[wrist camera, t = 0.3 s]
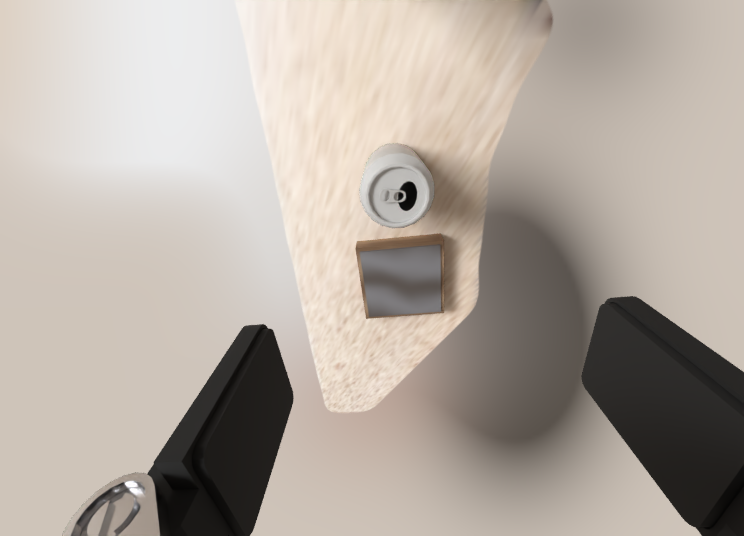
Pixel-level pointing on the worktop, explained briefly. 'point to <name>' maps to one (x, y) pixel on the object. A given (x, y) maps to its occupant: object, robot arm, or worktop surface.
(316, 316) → the worktop surface
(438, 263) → the plinth
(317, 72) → the worktop surface
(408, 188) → the can
